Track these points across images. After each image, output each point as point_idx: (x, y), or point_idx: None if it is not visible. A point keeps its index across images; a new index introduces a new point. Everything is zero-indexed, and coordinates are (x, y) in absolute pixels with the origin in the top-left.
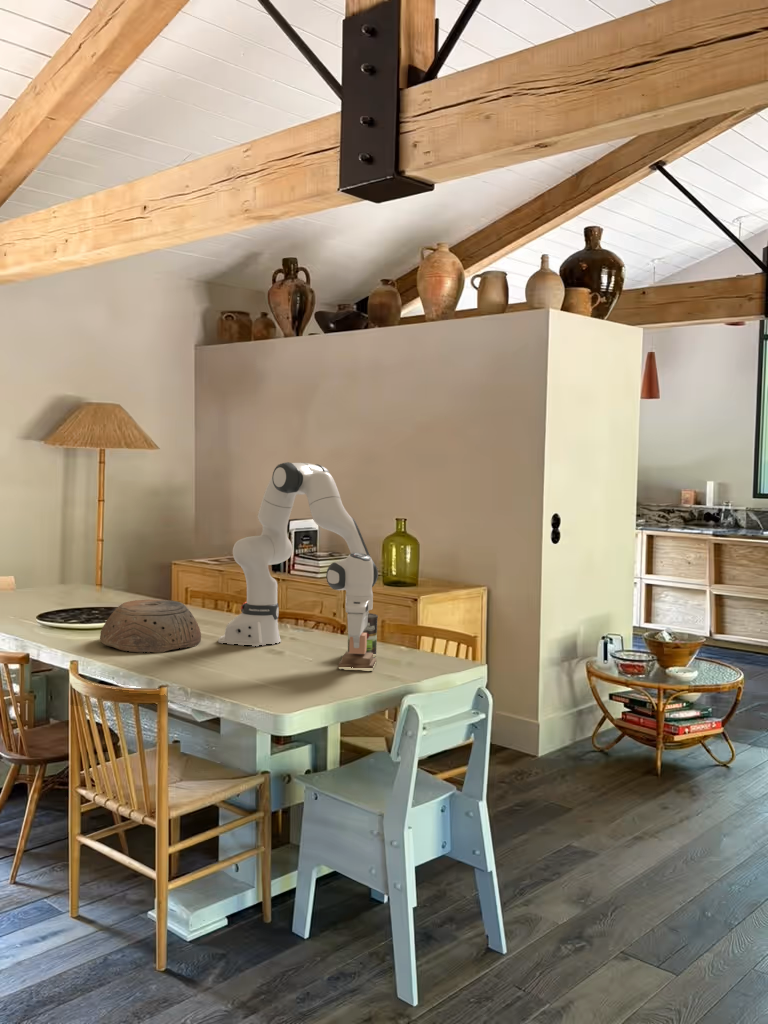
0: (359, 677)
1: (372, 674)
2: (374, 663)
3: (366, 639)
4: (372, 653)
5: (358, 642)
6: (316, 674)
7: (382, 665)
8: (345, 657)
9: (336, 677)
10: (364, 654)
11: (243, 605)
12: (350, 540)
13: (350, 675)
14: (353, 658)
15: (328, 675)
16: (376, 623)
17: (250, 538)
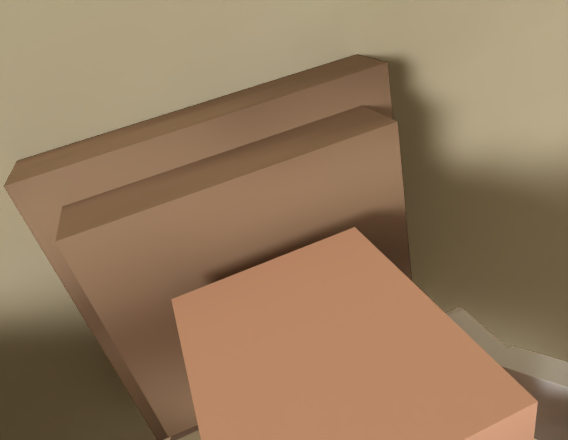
0: (547, 72)
1: (441, 11)
2: (199, 117)
3: (248, 410)
4: (108, 227)
5: (518, 353)
6: (513, 326)
7: (18, 72)
8: None
9: (561, 207)
10: (220, 272)
11: None
12: None
13: (504, 158)
14: (408, 270)
15: (524, 268)
16: None
17: None
